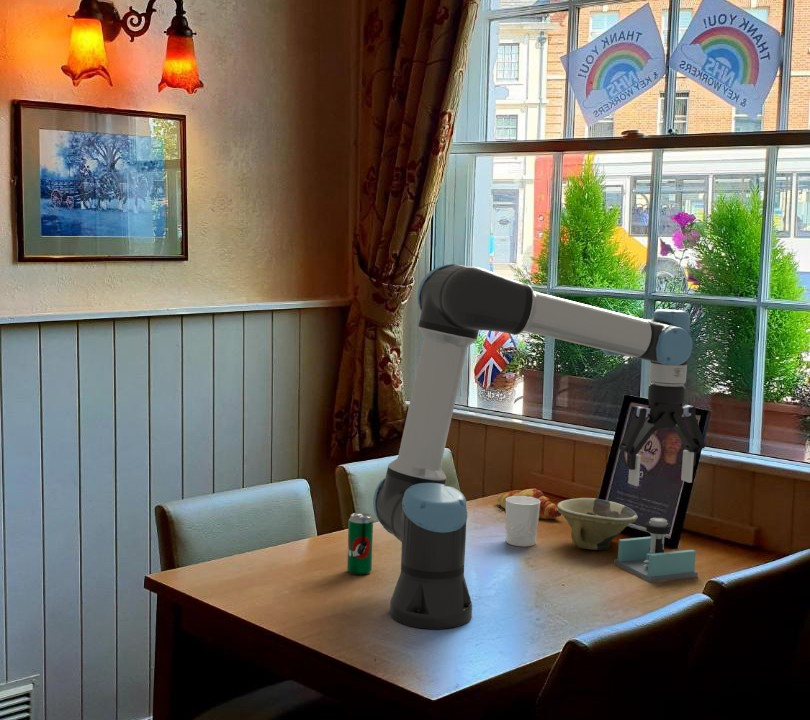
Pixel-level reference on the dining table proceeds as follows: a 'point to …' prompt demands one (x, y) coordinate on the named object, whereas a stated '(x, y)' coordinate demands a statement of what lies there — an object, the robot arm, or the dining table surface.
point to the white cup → (522, 520)
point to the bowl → (595, 521)
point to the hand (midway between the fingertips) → (660, 483)
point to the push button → (657, 535)
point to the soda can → (360, 544)
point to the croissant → (546, 507)
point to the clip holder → (655, 561)
